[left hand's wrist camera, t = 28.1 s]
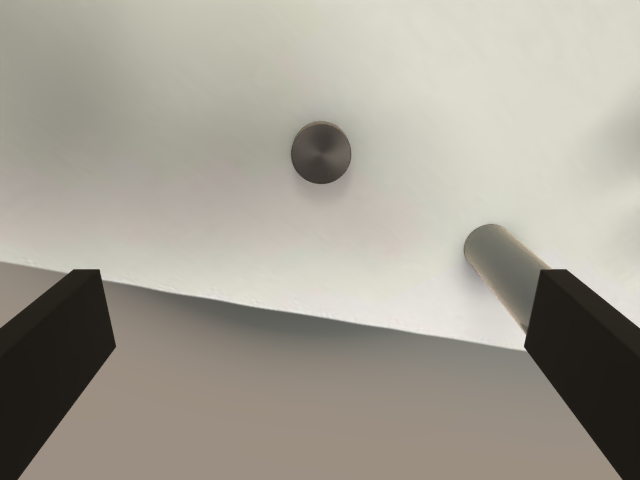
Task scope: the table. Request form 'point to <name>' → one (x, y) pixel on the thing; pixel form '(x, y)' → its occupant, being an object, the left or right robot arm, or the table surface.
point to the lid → (321, 152)
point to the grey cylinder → (506, 269)
